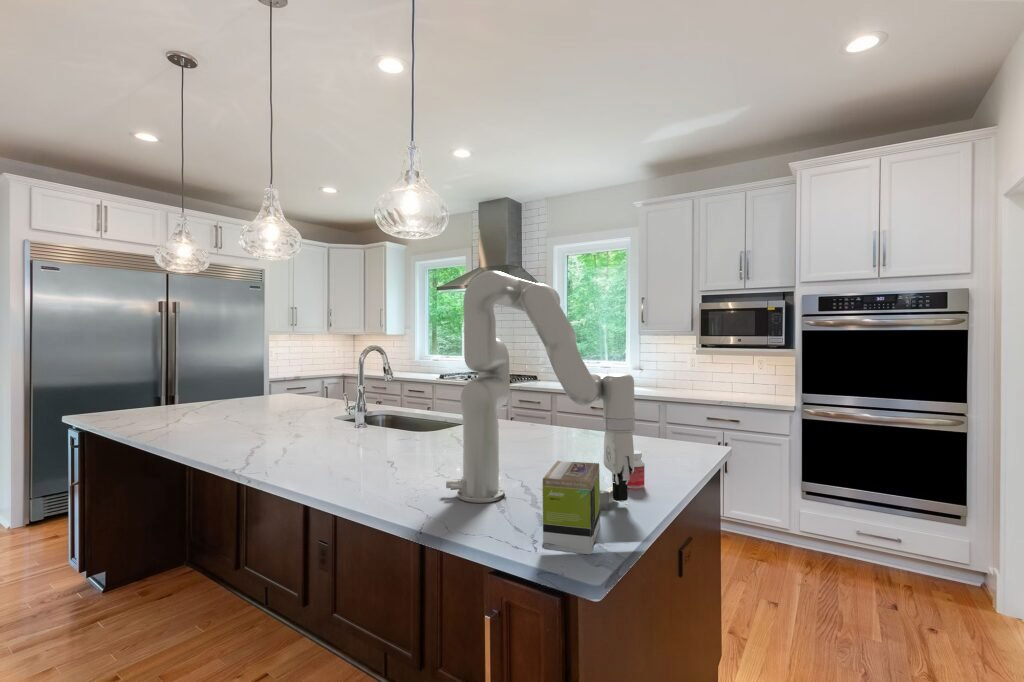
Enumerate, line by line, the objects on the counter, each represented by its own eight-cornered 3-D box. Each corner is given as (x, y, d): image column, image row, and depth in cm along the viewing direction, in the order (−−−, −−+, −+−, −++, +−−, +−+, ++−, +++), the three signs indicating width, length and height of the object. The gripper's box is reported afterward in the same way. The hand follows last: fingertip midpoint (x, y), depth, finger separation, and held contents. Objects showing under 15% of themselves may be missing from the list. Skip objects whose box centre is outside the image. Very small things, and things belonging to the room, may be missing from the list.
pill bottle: (649, 492, 138) (649, 452, 138) (633, 496, 135) (633, 455, 135) (632, 487, 143) (632, 448, 143) (616, 490, 140) (616, 451, 140)
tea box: (556, 523, 115) (557, 458, 115) (601, 528, 112) (601, 462, 112) (541, 550, 100) (541, 475, 100) (591, 556, 97) (592, 480, 97)
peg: (605, 511, 119) (605, 494, 119) (594, 508, 121) (594, 492, 121) (620, 501, 126) (620, 486, 126) (609, 499, 128) (609, 484, 128)
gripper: (595, 420, 130) (596, 491, 130) (613, 430, 115) (614, 510, 115) (623, 419, 130) (625, 490, 130) (645, 429, 116) (646, 509, 116)
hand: (620, 499), depth 123 cm, fingers closed
